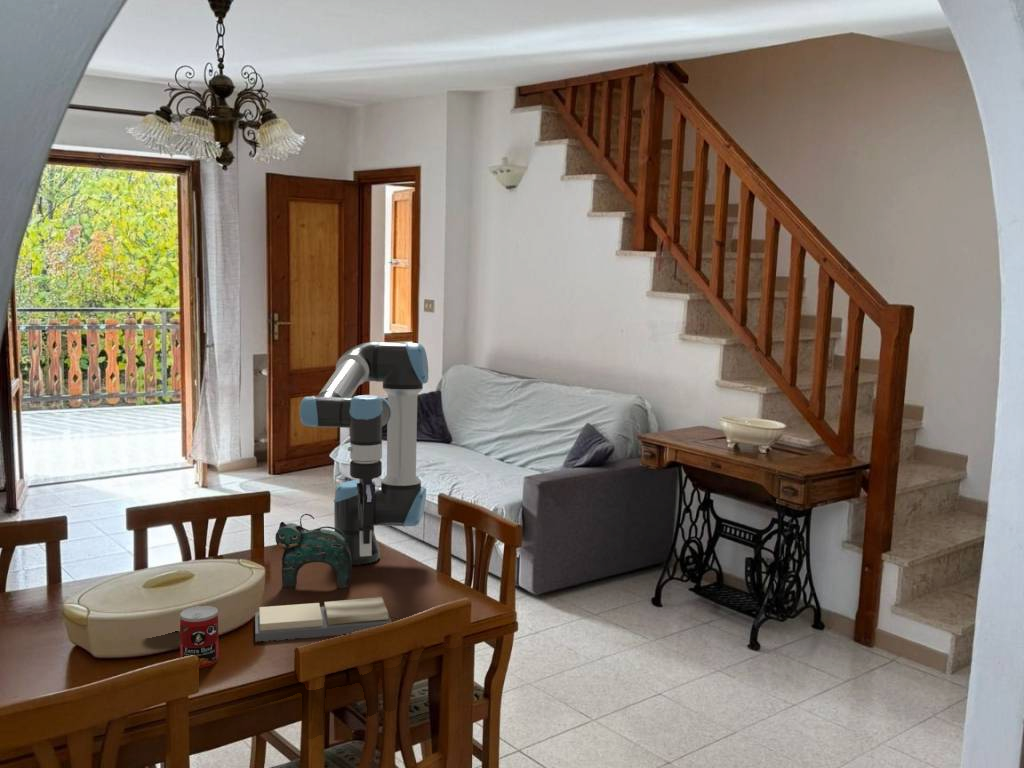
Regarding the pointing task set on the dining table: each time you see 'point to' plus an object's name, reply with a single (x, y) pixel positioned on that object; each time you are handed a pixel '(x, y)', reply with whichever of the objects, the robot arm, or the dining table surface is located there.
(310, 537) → the ceramic cat
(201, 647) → the canned food
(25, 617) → the dining table surface
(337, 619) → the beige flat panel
